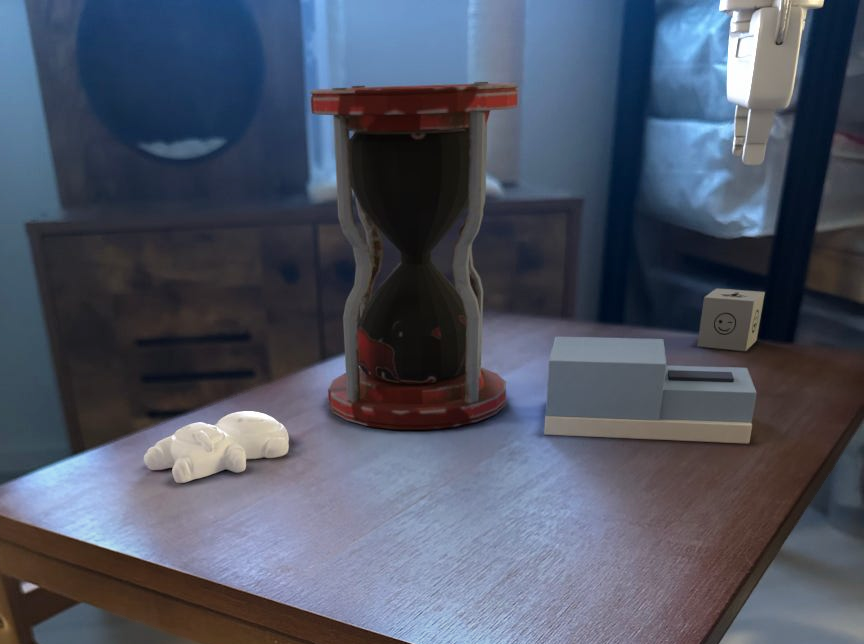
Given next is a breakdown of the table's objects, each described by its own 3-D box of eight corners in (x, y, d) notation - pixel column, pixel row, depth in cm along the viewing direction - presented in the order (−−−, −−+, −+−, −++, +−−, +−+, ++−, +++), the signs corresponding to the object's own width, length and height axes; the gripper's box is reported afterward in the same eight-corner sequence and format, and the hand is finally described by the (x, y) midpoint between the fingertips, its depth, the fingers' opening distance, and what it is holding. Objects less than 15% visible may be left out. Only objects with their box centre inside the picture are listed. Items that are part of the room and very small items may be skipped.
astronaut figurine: (128, 461, 75) (121, 424, 73) (253, 426, 81) (250, 391, 80) (185, 491, 69) (179, 451, 67) (315, 451, 75) (312, 414, 74)
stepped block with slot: (738, 411, 81) (750, 340, 78) (749, 443, 74) (762, 367, 71) (551, 404, 84) (555, 335, 81) (544, 434, 77) (548, 361, 74)
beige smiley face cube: (697, 346, 100) (704, 297, 97) (709, 336, 104) (716, 288, 101) (745, 351, 98) (753, 301, 95) (756, 340, 101) (764, 292, 99)
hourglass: (294, 402, 87) (269, 89, 74) (426, 369, 95) (424, 83, 83) (406, 445, 76) (400, 87, 63) (543, 403, 84) (563, 80, 72)
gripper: (832, -24, 75) (797, 170, 82) (794, -8, 92) (767, 152, 99) (749, -20, 76) (721, 170, 83) (726, -5, 93) (705, 152, 100)
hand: (746, 160), depth 91 cm, fingers open, 8 cm apart
